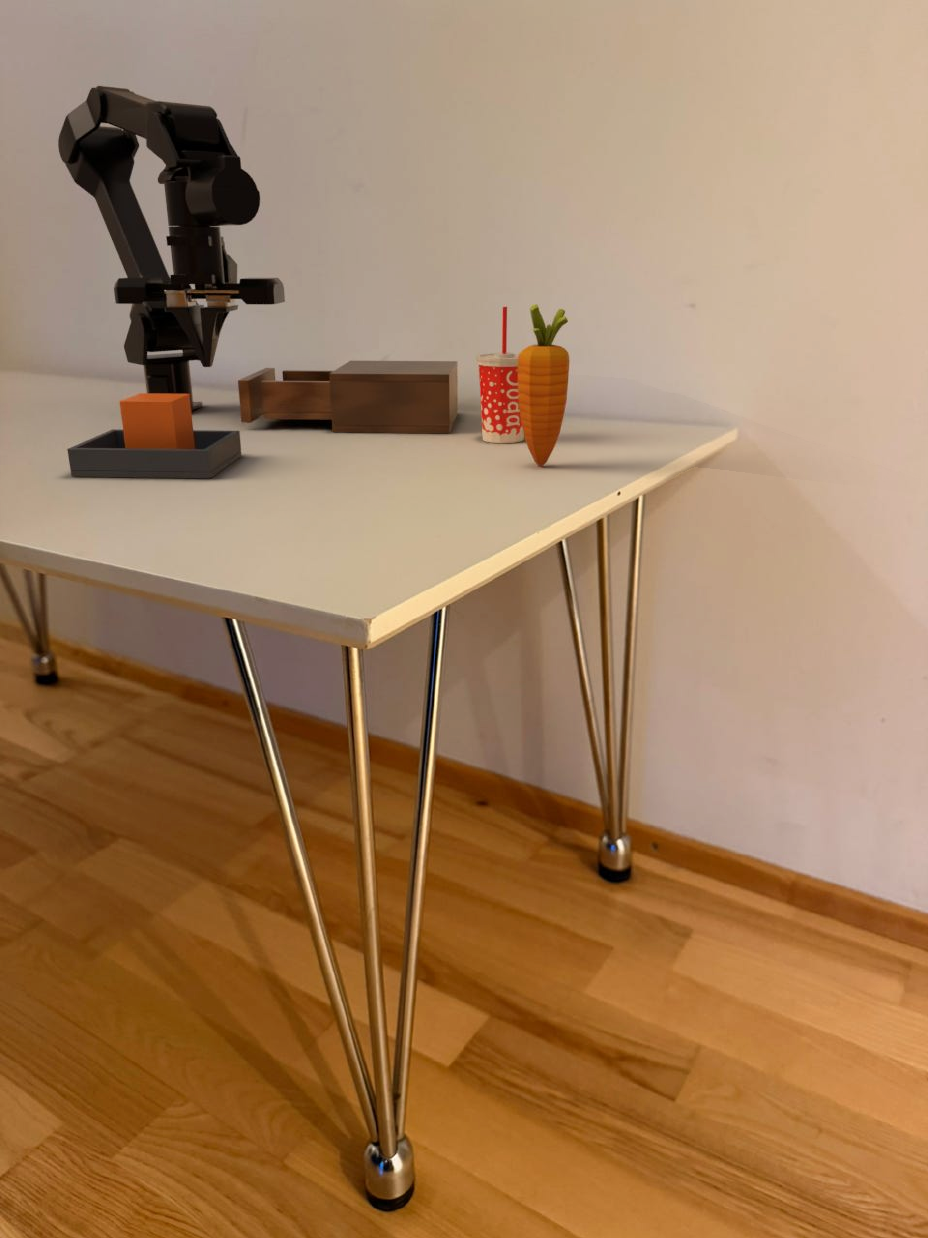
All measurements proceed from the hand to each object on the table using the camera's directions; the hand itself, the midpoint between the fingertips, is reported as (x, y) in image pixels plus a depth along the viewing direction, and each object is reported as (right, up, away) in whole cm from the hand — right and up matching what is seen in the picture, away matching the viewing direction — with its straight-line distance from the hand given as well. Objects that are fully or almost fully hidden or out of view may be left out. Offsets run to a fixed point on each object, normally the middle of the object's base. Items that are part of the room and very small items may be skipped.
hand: (207, 366), depth 115 cm
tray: (+1, -16, -22) cm, 27 cm away
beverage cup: (+35, -11, -9) cm, 38 cm away
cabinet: (+23, -7, +1) cm, 24 cm away
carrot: (+38, -16, -22) cm, 47 cm away
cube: (+2, -15, -22) cm, 27 cm away
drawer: (+11, -5, +1) cm, 12 cm away
